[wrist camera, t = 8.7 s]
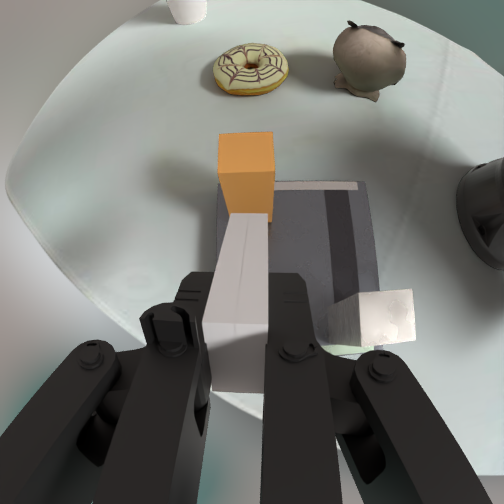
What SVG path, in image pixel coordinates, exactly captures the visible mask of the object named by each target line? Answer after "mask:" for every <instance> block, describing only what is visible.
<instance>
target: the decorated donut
mask: <svg viewBox="0 0 504 504" xmlns="http://www.w3.org/2000/svg"><path fill="white" fill-rule="evenodd" d="M248 68H255V69H251V70H249V69H248ZM288 70H289V69H288V63H287V60H286V59H285V57H284V56H283V54H282V53H281V52H280V51H279V50H278V49H277V48H275V47H272V46H269V45H265V44H256V43H248V44H244V45H239V46H236V47H234V48H232V49H230V50H228V51H226V52H225V53H223V54H222V55H221V56H220V57H219V58H218V59H217V60H216V62H215V63H214V66H213V72H214V77H215V81H216V82H217V84H218V86H219V87H220V88H222V89H223V90H224V91H226V92H227V93H229V94H235V95H241V96H244V95H261V94H265V93H268V92H270V91H273V90H274V89H276V88H277V87H278V86H279V85H281V84H282V82H283V81H284V80H285V78H286V77H287V75H288Z"/></svg>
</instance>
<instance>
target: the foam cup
mask: <svg viewBox="0 0 504 504" xmlns="http://www.w3.org/2000/svg"><path fill="white" fill-rule="evenodd" d="M166 2H167V4H168V6H169V8H170V10H171V13H172V15H173V17H174V19H175V21H176V23H178V24H180V25H189V24H194V23H197V22H199V21H201V20H203V19H204V18H205V17H206V15H207V14H206V13H207V0H166Z"/></svg>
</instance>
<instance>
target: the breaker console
mask: <svg viewBox="0 0 504 504" xmlns="http://www.w3.org/2000/svg"><path fill="white" fill-rule="evenodd" d="M229 218H230V216H229V213H228V209H227V206H226V202H225V199H224V195H223V191H222V188H221V184H220V183H219V184H218V197H217V252H216V266H217V262H218V258H219V255H220V251H221V247H222V243H223V240H224V236H225V232H226V229H227V225H228V222H229ZM268 272H272V273H298V274H299V275H300V276H301V277H302V278H303V279H304V281H305V282H306V286H307V292H308V298H309V303H310V309H311V315H312V321H313V327H314V333H315V337H316V340H317V342H319V344H320V346H321V347H322V348H323V349H324V350H326V351H327V352H329V353H331V354H333V355H336V356H343V355H354V354H363V353H366V352H368V351H370V350H383V345H384V344H392V343H400V342H407V341H414V340H416V336H415V317H414V303H413V292H412V289H402V290H389V291H380V290H379V279H378V269H377V260H376V251H375V243H374V236H373V228H372V222H371V215H370V209H369V203H368V197H367V191H366V186H365V182H359V181H275V182H274V198H273V213H272V222H268Z"/></svg>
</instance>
